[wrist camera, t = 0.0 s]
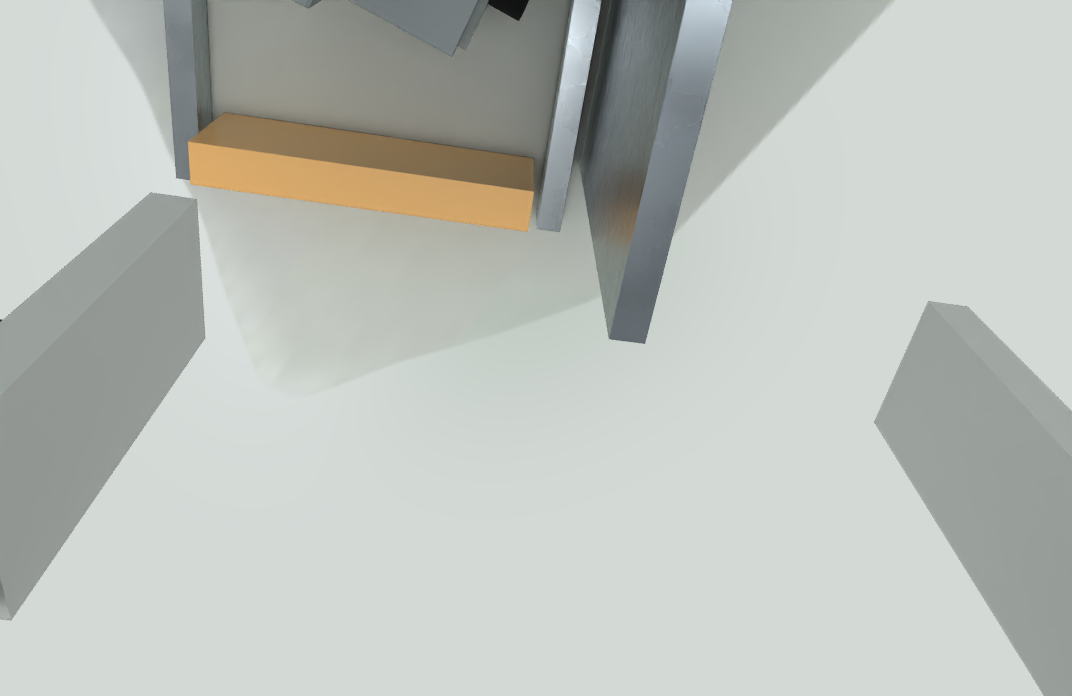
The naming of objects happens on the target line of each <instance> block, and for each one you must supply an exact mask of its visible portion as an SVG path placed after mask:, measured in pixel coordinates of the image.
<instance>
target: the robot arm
mask: <svg viewBox="0 0 1072 696" xmlns="http://www.w3.org/2000/svg"><path fill="white" fill-rule="evenodd" d="M201 276H202V275H201V260H200V242H199V226H198V209H197V199H193V198H186V197H179V196H171V195H164V194H157V193H150V194H149V195H147V196H146V197H145V198H144V199H143V200H141V201H140V202H139V203H138V204H137V205H136V206H134V207H133V208H132V209H131V210H130V211H129V212H128V213H126V214H125V215H124V216H123V217H122V218H121V219H119V220H118V221H117V222H116V223H115V224H114V225H112V226H111V227H110V228H109V229H108V230H107V231H106V232H104V233H103V234H102V235H101V236H100V237H98V238H97V239H96V240H95V241H94V242H93V243H92V244H90V245H89V246H88V247H87V248H86V249H85V250H83V251H82V252H81V253H80V254H79V255H78V256H76V257H75V258H74V259H73V260H72V261H71V262H69V263H68V264H67V265H66V266H65V267H64V268H63V269H61V270H60V271H59V272H58V273H57V274H56V275H54V276H53V277H52V278H51V279H50V280H49V281H47V282H46V283H45V284H44V285H43V286H42V287H40V288H39V289H38V290H37V291H36V292H35V293H33V294H32V295H31V296H30V297H29V298H28V299H27V300H25V301H24V302H23V303H22V304H21V305H19V306H18V307H17V308H16V309H15V310H14V311H13V312H11V314H9V315H8V316H7V317H6V318H5V319H3V320H0V619H1V620H12V618H13V617H14V615H15V614H16V613H17V611H18V610H19V608H20V607H21V605H22V604H23V602H24V601H25V599H26V598H27V596H28V595H29V594H30V592H31V591H32V589H33V588H34V586H35V585H36V583H37V582H38V580H39V579H40V577H41V576H42V575H43V573H44V572H45V570H46V569H47V567H48V566H49V565H50V563H51V561H52V560H53V559H54V557H55V556H56V554H57V553H58V551H59V550H60V549H61V547H62V546H63V544H64V543H65V541H66V540H67V538H68V537H69V535H70V534H71V533H72V531H73V530H74V528H75V526H76V525H77V524H78V522H79V521H80V519H81V518H82V517H83V515H84V514H85V512H86V511H87V509H88V508H89V506H90V505H91V503H92V502H93V501H94V499H95V498H96V496H97V495H98V493H99V492H100V490H101V489H102V487H103V486H104V485H105V483H106V482H107V480H108V479H109V477H110V476H111V474H112V473H113V471H114V470H115V468H116V467H117V466H118V464H119V463H120V461H121V460H122V458H123V457H124V455H125V454H126V452H127V451H128V450H129V448H130V447H131V445H132V444H133V442H134V441H135V439H136V438H137V437H138V435H139V434H140V432H141V431H142V429H143V428H144V426H145V425H146V423H147V422H148V421H149V419H150V418H151V416H152V415H153V413H154V412H155V410H156V409H157V407H158V406H159V405H160V403H161V402H162V400H163V399H164V397H165V396H166V394H167V393H168V391H169V390H170V388H171V387H172V386H173V384H174V383H175V381H176V380H177V378H178V377H179V375H180V374H181V373H182V371H183V370H184V368H185V367H186V365H187V364H188V362H189V361H190V359H191V358H192V357H193V355H194V354H195V352H196V351H197V349H198V348H199V346H200V345H201V343H202V342H203V341H204V339H205V327H204V309H203V293H202V277H201ZM874 423H875V424H876V426H877V427H878V429H879V431H880V432H881V434H882V436H883V437H884V439H885V440H886V442H887V444H888V445H889V447H890V448H891V450H892V452H893V453H894V455H895V457H896V458H897V460H898V461H899V463H900V465H901V466H902V468H903V469H904V471H905V473H906V474H907V476H908V477H909V479H910V481H911V482H912V484H913V486H914V487H915V489H916V490H917V492H918V493H919V495H920V497H921V498H922V500H923V502H924V503H925V505H926V506H927V508H928V510H929V511H930V513H931V515H932V516H933V518H934V519H935V521H936V523H937V524H938V526H939V527H940V529H941V531H942V532H943V534H944V535H945V537H946V539H947V540H948V542H949V543H950V545H951V547H952V548H953V550H954V552H955V553H956V555H957V556H958V558H959V560H960V561H961V563H962V564H963V566H964V568H965V569H966V571H967V572H968V574H969V576H970V577H971V579H972V580H973V582H974V584H975V585H976V587H977V589H978V590H979V592H980V593H981V595H982V597H983V598H984V600H985V601H986V603H987V605H988V606H989V608H990V610H991V611H992V613H993V614H994V616H995V618H996V619H997V621H998V622H999V624H1000V626H1001V627H1002V629H1003V630H1004V632H1005V634H1006V635H1007V637H1008V639H1009V640H1010V642H1011V643H1012V645H1013V647H1014V648H1015V650H1016V651H1017V653H1018V654H1019V656H1020V658H1021V659H1022V661H1023V662H1024V664H1025V666H1026V667H1027V669H1028V671H1029V672H1030V674H1031V675H1032V677H1033V679H1034V680H1035V682H1036V683H1037V685H1038V687H1039V689H1040V690H1041V692H1042V693H1043V695H1044V696H1072V411H1071V410H1070V409H1069V408H1068V407H1067V406H1066V405H1065V404H1064V403H1063V402H1062V401H1061V400H1060V399H1059V398H1058V397H1057V396H1056V395H1055V394H1054V393H1053V392H1052V391H1051V390H1050V389H1049V388H1048V387H1047V386H1046V385H1045V384H1044V383H1043V382H1042V381H1041V380H1040V379H1039V378H1038V377H1037V376H1036V375H1035V374H1034V373H1033V372H1032V371H1031V370H1030V369H1029V368H1028V367H1027V366H1026V365H1025V364H1024V363H1023V362H1022V361H1021V360H1020V359H1019V358H1018V357H1017V356H1016V355H1015V354H1014V353H1013V352H1012V351H1011V350H1010V349H1009V348H1008V347H1007V346H1006V345H1005V344H1004V343H1003V342H1002V341H1001V340H1000V339H999V338H998V337H997V336H996V335H995V334H994V333H993V332H992V331H991V330H990V329H989V328H988V327H987V326H986V325H985V324H984V323H983V322H982V321H981V320H980V319H979V318H978V317H977V316H976V315H975V314H974V313H973V311H972V310H970V308H969V307H967V306H959V305H952V304H945V303H938V302H931V301H928V303H927V305H926V307H925V310H924V312H923V314H922V316H921V319H920V321H919V323H918V325H917V327H916V330H915V332H914V334H913V336H912V339H911V341H910V343H909V346H908V348H907V350H906V352H905V354H904V357H903V359H902V361H901V363H900V365H899V368H898V370H897V372H896V375H895V377H894V379H893V381H892V383H891V386H890V388H889V390H888V392H887V395H886V397H885V399H884V401H883V404H882V406H881V408H880V410H879V412H878V415H877V417H876V419H875V421H874Z"/></svg>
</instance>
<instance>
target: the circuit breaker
mask: <svg viewBox="0 0 1072 696" xmlns="http://www.w3.org/2000/svg"><path fill="white" fill-rule="evenodd" d="M292 1H294V2H296V3H298V4H300V5H302V6H304V7H306V8H310V7H312V6H313V5H315V4H316V3H318V2H320V1H321V0H292ZM349 1H351V2H353V3H354V4H356V5H358V6H360V7H362V8H364V9H365V10H367V11H369V12H371V13H373V14H375V15H376V16H378V17H380V18H382V19H384V20H385V21H387V22H389V23H391V24H393V25H395V26H396V27H398V28H400V29H402V30H404V31H406V32H407V33H409V34H411V35H413V36H415V37H417V38H418V39H420V40H422V41H424V42H426V43H428V44H429V45H431V46H433V47H435V48H437V49H438V50H440V51H442V52H444V53H446V54H448V55H449V56H451V57H452V55H453V54H454V52H455V50H456V48H457V46H459V47H461V48H462V49H464V50H466V47H467V45H468V43H469V41H470V39H471V37H472V35H473V33H474V31H475V29H476V27H477V25H478V23H479V21H480V18H481V16H482V14H483V12H484V10H485V8H486V7H487V5H488V4H489V5H491V6H493V7H494V8H496V9H498V10H500V11H502V12H503V13H505V14H507V15H509V16H511V17H512V18H514V19H516V20H518V21H519V20H520V18H521V16H522V14H523V13H524V10H525V8H526V6H527V3H528V1H529V0H349Z"/></svg>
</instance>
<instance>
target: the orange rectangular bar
mask: <svg viewBox="0 0 1072 696" xmlns="http://www.w3.org/2000/svg"><path fill="white" fill-rule="evenodd" d="M188 151H189V166H190V182H191V185H198V186H205V187H212V188H220V189H227V190H234V191H241V192H248V193H255V194H262V195H269V196H277V197H284V198H291V199H298V200H305V201H312V202H319V203H326V204H334V205H341V206H348V207H355V208H362V209H369V210H376V211H383V212H391V213H398V214H405V215H412V216H419V217H426V218H433V219H440V220H448V221H455V222H462V223H469V224H476V225H483V226H490V227H497V228H504V229H512V230H519V231H526V232H528V228H529V221H530V215H531V209H532V203H533V196H534V158H528V157H521V156H514V155H508V154H501V153H494V152H487V151H481V150H474V149H467V148H460V147H454V146H447V145H440V144H433V143H427V142H420V141H413V140H406V139H400V138H393V137H386V136H379V135H373V134H366V133H359V132H352V131H346V130H339V129H332V128H325V127H319V126H312V125H305V124H298V123H292V122H285V121H278V120H271V119H265V118H258V117H251V116H244V115H238V114H231V113H223V114H222V115H220V116H219V117H218V118H217V119H215V120H214V121H213V122H212V123H210V124H209V125H208V126H207V127H206V128H204V129H203V130H202V131H201V132H199V133H198V134H197V135H196V136H194V137H193V138H192V139H191V140H189V141H188Z"/></svg>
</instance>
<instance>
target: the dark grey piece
mask: <svg viewBox="0 0 1072 696" xmlns="http://www.w3.org/2000/svg"><path fill="white" fill-rule="evenodd" d="M601 1H602V0H571V5H570V11H569V17H568V23H567V29H566V36H565V42H564V48H563V54H562V60H561V66H560V72H559V79H558V85H557V91H556V97H555V103H554V109H553V115H552V122H551V128H550V134H549V140H548V146H547V152H546V158H545V165H544V171H543V177H542V183H541V189H540V195H539V201H538V208H537V214H536V220H537V229H541V230H548V231H556V232H560V228H561V223H562V217H563V211H564V206H565V200H566V195H567V189H568V184H569V178H570V173H571V167H572V162H573V156H574V150H575V145H576V139H577V134H578V128H579V123H580V117H581V112H582V106H583V100H584V95H585V89H586V84H587V78H588V73H589V67H590V62H591V56H592V51H593V45H594V39H595V34H596V28H597V23H598V17H599V12H600V6H601ZM163 2H164V16H165V30H166V44H167V57H168V71H169V85H170V98H171V112H172V126H173V140H174V153H175V167H176V178H179V179H186V180H190V166H189V151H188V141H189V140H191V139H192V138H193V137H194V136H196V135H197V134H198V133H199V132H201V131H202V130H203V129H204V128H206V127H207V126H208V125H209V124H210V123H212V104H211V83H210V62H209V42H208V21H207V0H163ZM732 2H733V0H610V4H609V9H608V15H607V20H606V26H605V31H604V36H603V42H602V47H601V53H600V58H599V63H598V69H597V74H596V80H595V85H594V90H593V96H592V101H591V107H590V112H589V117H588V123H587V128H586V134H585V139H584V144H583V150H582V155H581V161H580V170H581V176H582V182H583V188H584V194H585V200H586V206H587V212H588V218H589V224H590V229H591V235H592V241H593V247H594V253H595V259H596V265H597V271H598V277H599V283H600V289H601V295H602V300H603V306H604V312H605V318H606V324H607V330H608V336H609V339H612V340H620V341H628V342H636V343H643V344H645V341H646V337H647V334H648V329H649V326H650V322H651V318H652V314H653V310H654V306H655V302H656V298H657V295H658V291H659V287H660V283H661V279H662V275H663V271H664V267H665V263H666V260H667V256H668V251H669V247H670V244H671V240H672V236H673V232H674V228H675V224H676V220H677V217H678V213H679V209H680V205H681V201H682V197H683V193H684V189H685V185H686V181H687V178H688V174H689V170H690V166H691V162H692V158H693V154H694V150H695V146H696V142H697V138H698V135H699V131H700V127H701V123H702V119H703V115H704V111H705V107H706V103H707V99H708V95H709V92H710V88H711V84H712V80H713V76H714V72H715V68H716V64H717V60H718V56H719V53H720V49H721V45H722V41H723V37H724V33H725V29H726V25H727V21H728V17H729V13H730V10H731V6H732Z"/></svg>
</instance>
